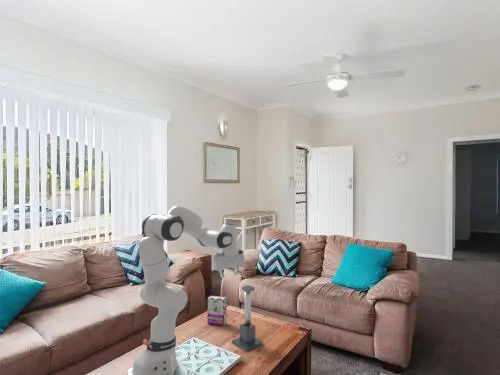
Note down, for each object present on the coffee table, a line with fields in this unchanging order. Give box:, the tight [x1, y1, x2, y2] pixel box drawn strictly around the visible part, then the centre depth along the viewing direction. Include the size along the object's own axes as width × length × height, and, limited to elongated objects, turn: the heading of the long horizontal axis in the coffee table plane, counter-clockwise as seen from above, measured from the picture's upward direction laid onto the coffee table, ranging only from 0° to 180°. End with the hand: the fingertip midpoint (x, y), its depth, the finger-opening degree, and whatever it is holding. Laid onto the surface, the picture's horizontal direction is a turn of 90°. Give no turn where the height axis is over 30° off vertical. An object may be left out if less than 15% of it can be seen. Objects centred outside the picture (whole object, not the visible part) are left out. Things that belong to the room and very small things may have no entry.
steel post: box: [241, 285, 256, 328], centre depth 177 cm, size 5×5×24 cm
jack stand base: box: [231, 323, 264, 352], centre depth 177 cm, size 12×12×11 cm
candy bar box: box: [206, 295, 228, 327], centre depth 202 cm, size 11×5×16 cm, turn 73°
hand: (228, 275), depth 187 cm, fingers open, 8 cm apart
